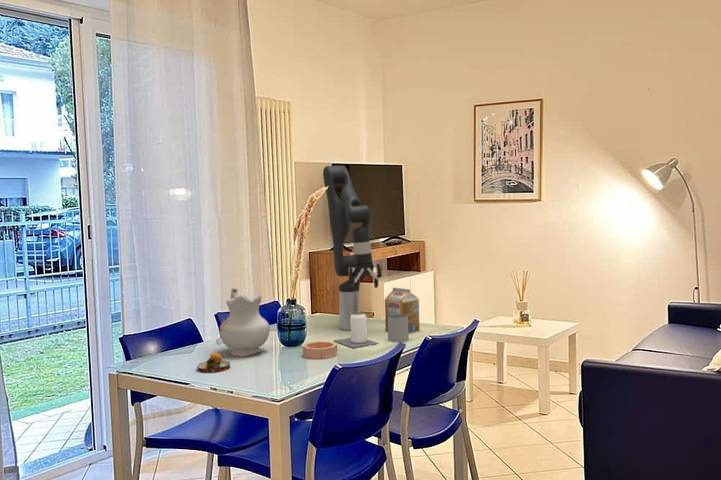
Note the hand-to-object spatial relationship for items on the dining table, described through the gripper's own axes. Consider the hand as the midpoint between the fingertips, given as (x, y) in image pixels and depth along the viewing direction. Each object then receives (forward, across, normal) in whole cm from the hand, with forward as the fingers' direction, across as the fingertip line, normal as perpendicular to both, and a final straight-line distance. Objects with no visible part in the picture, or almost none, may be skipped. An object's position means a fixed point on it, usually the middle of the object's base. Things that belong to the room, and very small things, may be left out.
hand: (366, 289), depth 289 cm
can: (+18, +9, +16) cm, 26 cm away
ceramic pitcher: (+15, +56, +14) cm, 59 cm away
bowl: (+17, +28, +30) cm, 44 cm away
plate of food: (+14, +68, +35) cm, 78 cm away
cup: (+20, -7, +16) cm, 27 cm away
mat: (+18, +11, +15) cm, 26 cm away
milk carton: (+21, -14, +1) cm, 25 cm away
